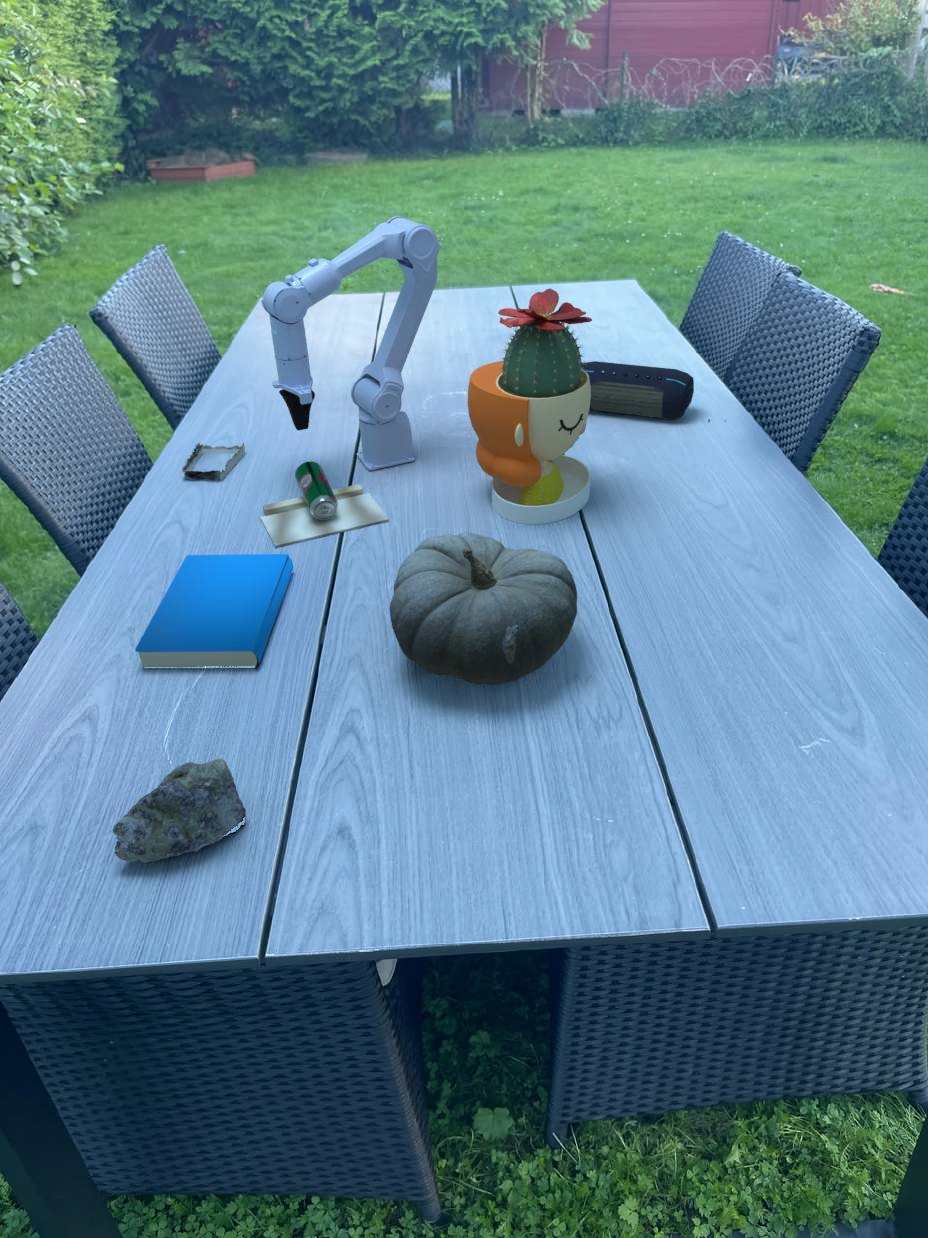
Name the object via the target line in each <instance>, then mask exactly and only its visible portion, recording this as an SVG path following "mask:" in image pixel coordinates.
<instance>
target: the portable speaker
mask: <svg viewBox="0 0 928 1238" xmlns="http://www.w3.org/2000/svg"><path fill="white" fill-rule="evenodd" d="M585 364H586V365H585ZM583 367H584V369H583ZM582 369H583V370H585V371H586V372H587V373H588V375H589V379H590V385H591V400H590V406H591V407H590V411H599V412H605V413H606V412H607V413H615V414H622V413H625V414H624V415H631V414H634V415H633V416H639V415H644V416H643V417H648V416H652V417H651V418H656V417H660V418H659V419H665V418H666V419H667V420H672V419H673V420H674V419H677V418H681V417H682V416H684V414H685V412H686V411H687V409H688V408H689V407H690V405H691V404H692V400H693V397H694V392H695V389H694V387H695V385H694V384H695V383H694V382H695V379H694V377H693V376H692V375H691V374H689V373H688V372H686V371H683V370H681V369H677V368H667V367H657V366H649V365H647V366H646V365H639V364H638V365H637V364H628V363H618V362H616V363H615V362H605V361H595V360H594V361H585V363H584V362H583V364H582Z"/></svg>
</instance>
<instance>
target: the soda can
mask: <svg viewBox="0 0 928 1238" xmlns="http://www.w3.org/2000/svg"><path fill="white" fill-rule="evenodd" d="M294 476H295V480H296V483H297V485H298V487H299V489H300V492H301V495H302V497H304V499H305V502H306V504H307V507H308V509H309V511H310V513H311V515H312V516H314V517H315V518H316V519H318V520H328V519H330V518H332V517H333V516H334V515H335V514H336V512H337V507H338V503H337V500H336V498H335V495H334V493H333V491H332V490H333V489H332V487H331V484H330V483H329V480H328V478H327V475H326V474H325V472H324V469H323V467H322V466H321V464H319V463H318V462H315V461H305V462H303V463H301V464H300V465H299V466H298V467H297V468H296V470H295V473H294Z"/></svg>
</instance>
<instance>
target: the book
mask: <svg viewBox="0 0 928 1238" xmlns="http://www.w3.org/2000/svg"><path fill="white" fill-rule="evenodd" d="M293 562H294V561H293V560H292V559H291V557H290V555H289V553H268V554H267V553H265V554H264V553H259V554H257V553H255V554H254V553H253V554H246V553H245V554H194V555H193V554H191V555H190V554H187V555H186V556H185V558H184V559H183V560H182V563H181V565H180V567H179V569H178V570H177V572H176V573H175V575H174V578H173V579H172V581H171V583H170V585H169V587H168V589H167V591H166V592H165V594H164V596H163V597H162V600H161V601H160V603H159V605H158V606H157V608H156V610H155V612H154V614H153V615H152V618H151V619H150V621H149V623H148V624H147V627H146V628H145V630H144V632H143V634H142V636H141V637H140V639H139V641H138V644H137V645H136V646H135V652H136V653H138V656H139V659H140V661H141V665H142V668H143V667H198V666H199V667H204V666H206V667H207V666H219V667H220V666H222V667H223V666H224V667H226V666H227V667H229V666H231V667H232V666H234V667H235V666H236V667H237V666H253V665H254V666H256V667H259V665H260V663H261V659H262V656H263V654H264V652H265V649H266V645H267V642H268V641H269V637H270V636H271V633H272V632H271V631H272V630H273V627H274V623H275V621H276V618H277V616H278V613H279V610H280V607H281V604H282V601H283V599H284V596H285V593H286V591H287V589H288V585H289V582H290V580H291V577H292V573H293V571H294V563H293ZM257 665H258V666H257Z"/></svg>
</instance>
